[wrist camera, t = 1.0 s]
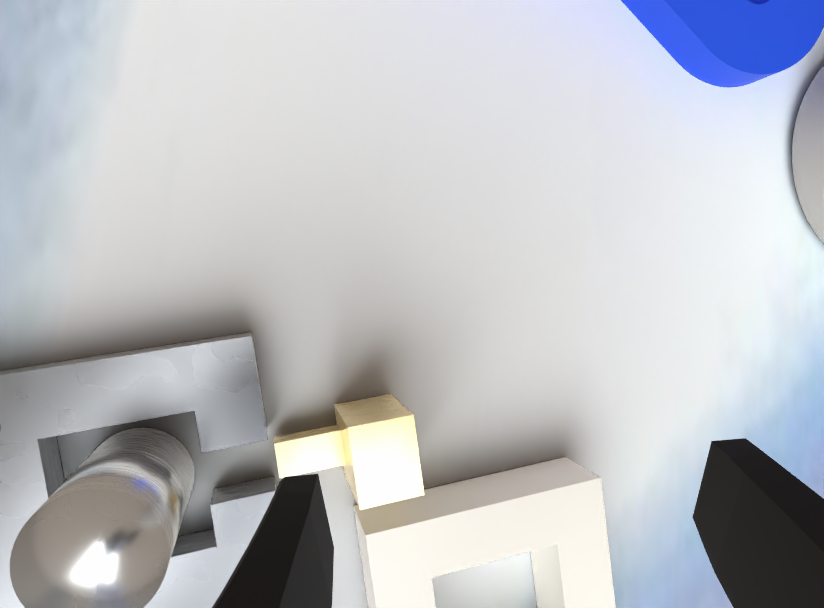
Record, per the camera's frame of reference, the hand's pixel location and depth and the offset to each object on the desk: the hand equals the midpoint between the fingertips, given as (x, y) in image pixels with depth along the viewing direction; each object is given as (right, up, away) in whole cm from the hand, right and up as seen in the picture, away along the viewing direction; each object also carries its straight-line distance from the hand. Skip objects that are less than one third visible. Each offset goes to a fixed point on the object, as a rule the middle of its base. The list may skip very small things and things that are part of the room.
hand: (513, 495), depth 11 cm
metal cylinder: (-12, -3, +12) cm, 18 cm away
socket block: (-12, -3, +12) cm, 18 cm away
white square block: (+1, -9, +16) cm, 18 cm away
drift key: (-5, -2, +14) cm, 15 cm away
